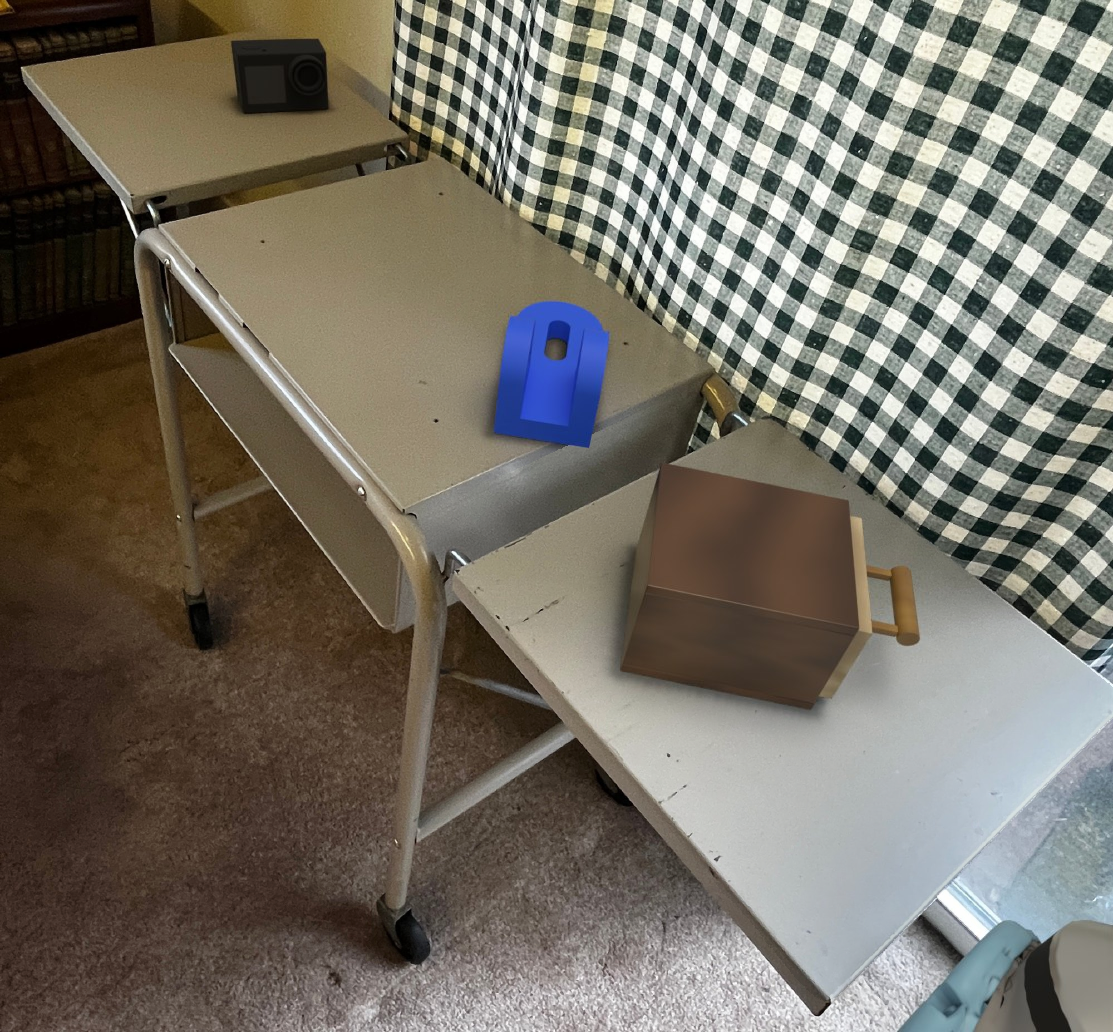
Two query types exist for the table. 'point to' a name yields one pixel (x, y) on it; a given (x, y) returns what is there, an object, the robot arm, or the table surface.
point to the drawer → (901, 602)
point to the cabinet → (741, 587)
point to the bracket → (551, 375)
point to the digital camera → (280, 75)
